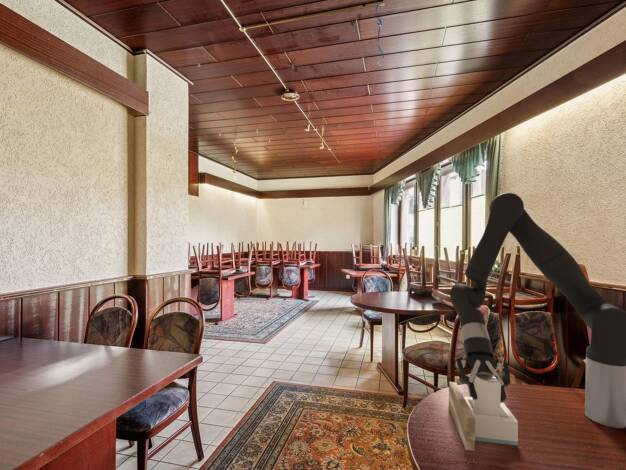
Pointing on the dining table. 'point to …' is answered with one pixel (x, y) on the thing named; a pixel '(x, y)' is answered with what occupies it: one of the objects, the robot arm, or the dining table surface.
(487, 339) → the robot arm
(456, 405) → the stop board
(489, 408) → the can
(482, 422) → the socket block
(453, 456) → the dining table surface
